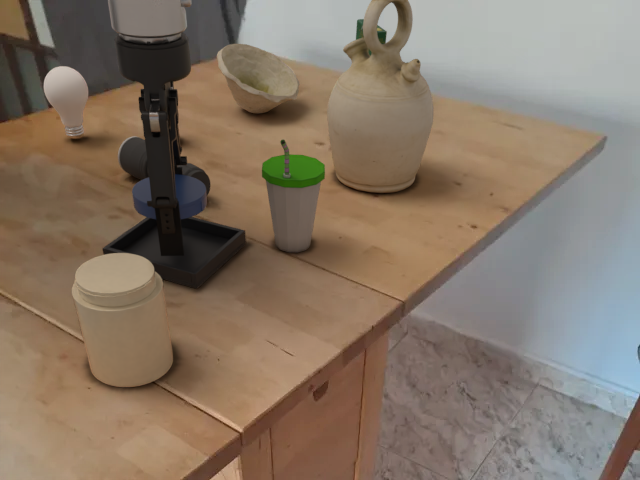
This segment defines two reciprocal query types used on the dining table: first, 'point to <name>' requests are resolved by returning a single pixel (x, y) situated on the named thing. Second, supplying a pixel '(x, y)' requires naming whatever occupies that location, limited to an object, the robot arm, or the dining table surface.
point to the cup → (293, 197)
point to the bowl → (257, 77)
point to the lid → (187, 193)
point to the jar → (123, 319)
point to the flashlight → (136, 163)
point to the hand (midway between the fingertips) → (174, 235)
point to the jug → (380, 109)
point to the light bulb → (67, 98)
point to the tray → (199, 249)
